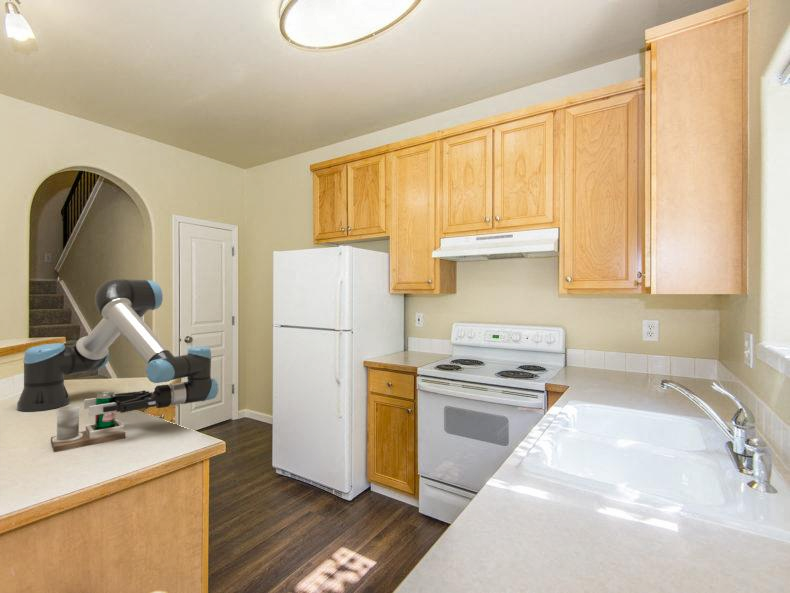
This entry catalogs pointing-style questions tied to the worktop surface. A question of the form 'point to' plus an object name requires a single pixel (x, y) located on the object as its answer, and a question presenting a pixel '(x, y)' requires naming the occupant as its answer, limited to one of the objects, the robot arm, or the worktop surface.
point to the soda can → (107, 418)
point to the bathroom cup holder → (73, 438)
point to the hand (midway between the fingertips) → (86, 407)
